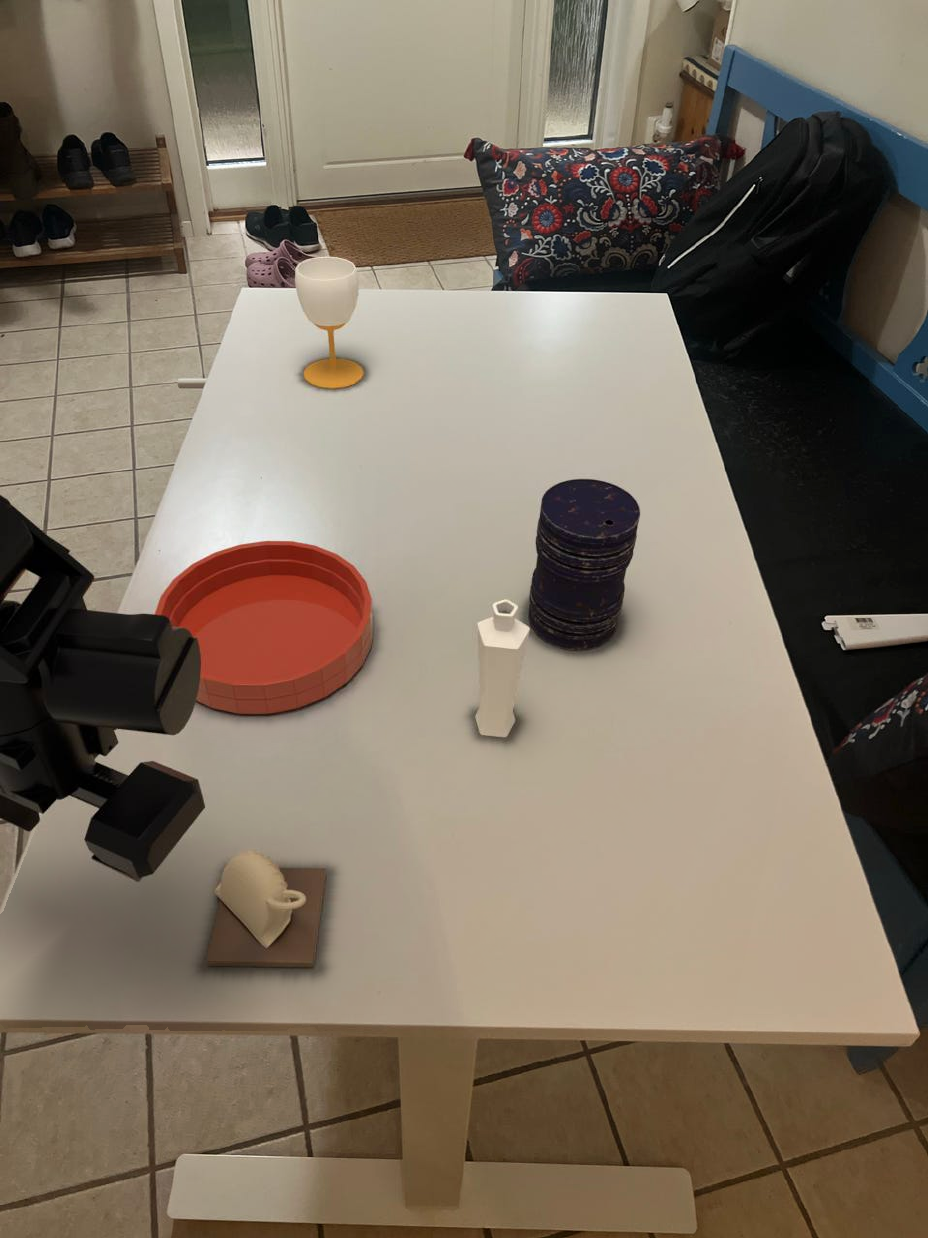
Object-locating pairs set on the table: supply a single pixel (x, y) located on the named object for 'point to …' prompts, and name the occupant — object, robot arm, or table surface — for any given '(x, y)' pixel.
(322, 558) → the bowl
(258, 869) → the decorative ornament
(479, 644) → the perfume bottle
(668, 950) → the table surface
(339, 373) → the cup
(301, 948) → the coaster
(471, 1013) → the table surface
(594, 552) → the dark oil barrel
